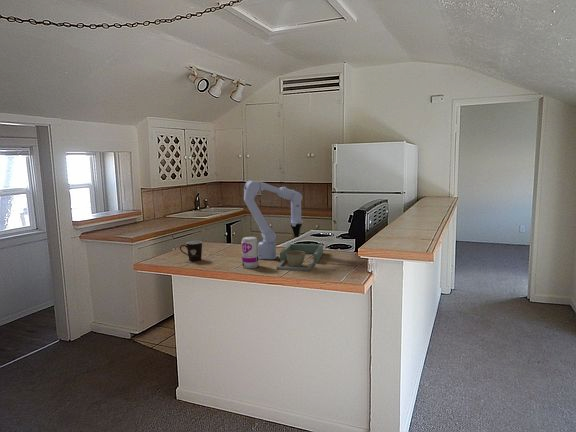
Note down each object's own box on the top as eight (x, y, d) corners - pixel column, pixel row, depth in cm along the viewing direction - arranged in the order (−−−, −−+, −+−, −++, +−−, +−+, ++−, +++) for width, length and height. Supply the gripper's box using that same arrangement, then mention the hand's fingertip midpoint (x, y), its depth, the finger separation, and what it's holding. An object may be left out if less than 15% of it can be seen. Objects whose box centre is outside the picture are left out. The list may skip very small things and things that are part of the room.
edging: (276, 269, 212) (276, 267, 212) (283, 262, 226) (282, 260, 225) (309, 270, 209) (309, 268, 209) (313, 263, 222) (313, 261, 222)
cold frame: (280, 262, 226) (279, 252, 226) (289, 252, 248) (288, 243, 247) (317, 263, 222) (316, 253, 221) (323, 253, 244) (322, 244, 243)
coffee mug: (206, 259, 237) (205, 241, 236) (196, 262, 229) (195, 244, 228) (189, 257, 242) (188, 240, 240) (179, 261, 234) (178, 243, 233)
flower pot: (303, 269, 211) (303, 255, 210) (284, 268, 213) (283, 254, 212) (307, 264, 221) (306, 250, 220) (288, 263, 223) (287, 250, 222)
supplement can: (252, 269, 214) (251, 240, 211) (239, 267, 218) (238, 238, 216) (261, 265, 220) (260, 237, 218) (248, 263, 225) (247, 235, 222)
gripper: (300, 214, 230) (301, 239, 232) (305, 211, 244) (305, 234, 246) (288, 214, 231) (288, 239, 233) (293, 211, 245) (293, 234, 247)
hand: (296, 236), depth 240 cm, fingers closed
